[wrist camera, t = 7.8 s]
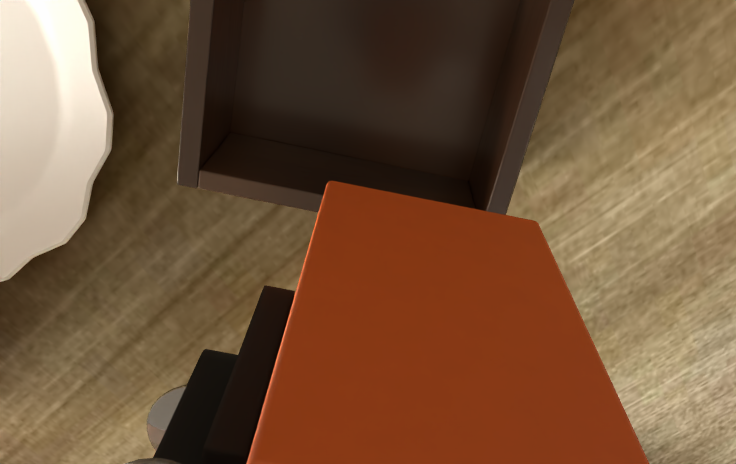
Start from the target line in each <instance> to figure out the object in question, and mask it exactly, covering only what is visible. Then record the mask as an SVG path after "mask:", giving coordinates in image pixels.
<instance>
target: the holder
mask: <svg viewBox="0 0 736 464" xmlns="http://www.w3.org/2000/svg"><path fill="white" fill-rule="evenodd" d="M573 4H574V0H191V1H190V14H189V28H188V41H187V54H186V68H185V81H184V94H183V108H182V121H181V134H180V148H179V161H178V174H177V184H178V185H182V186H187V187H192V188H197V187H198V188H199V189H204V190H209V191H214V192H219V193H224V194H229V195H234V196H239V197H244V198H249V199H254V200H259V201H264V202H269V203H274V204H279V205H284V206H289V207H294V208H299V209H304V210H309V211H314V212H319V209H320V205H321V202H322V199H323V195H324V192H325V188H326V185H327V183H328V182H329V181H337V182H342V183H347V184H352V185H357V186H362V187H367V188H372V189H377V190H382V191H387V192H392V193H397V194H402V195H407V196H412V197H417V198H422V199H427V200H432V201H437V202H442V203H447V204H452V205H458V206H463V207H468V208H473V209H478V210H483V211H488V212H493V213H498V214H503V215H506V213H507V209H508V206H509V203H510V200H511V197H512V194H513V191H514V188H515V185H516V181H517V178H518V175H519V172H520V169H521V166H522V163H523V160H524V156H525V153H526V150H527V147H528V144H529V141H530V138H531V135H532V131H533V128H534V125H535V122H536V119H537V116H538V113H539V110H540V106H541V103H542V100H543V97H544V94H545V91H546V88H547V85H548V82H549V78H550V75H551V72H552V69H553V66H554V63H555V60H556V57H557V53H558V50H559V47H560V44H561V41H562V38H563V35H564V32H565V28H566V25H567V22H568V19H569V16H570V13H571V10H572V7H573Z"/></svg>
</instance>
